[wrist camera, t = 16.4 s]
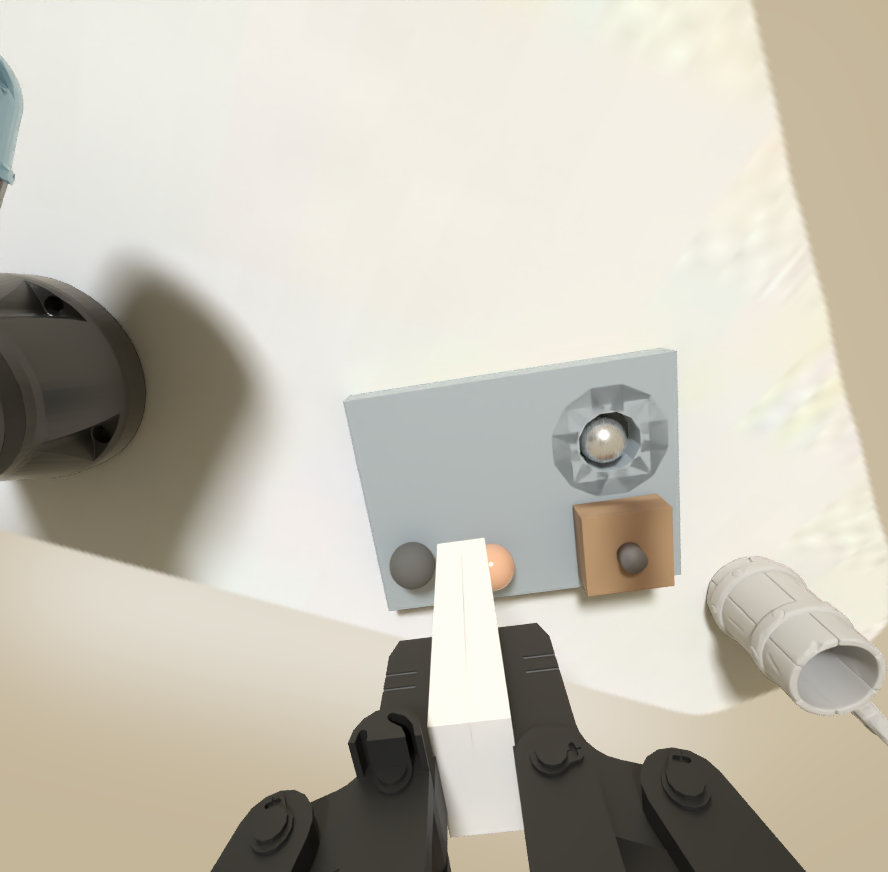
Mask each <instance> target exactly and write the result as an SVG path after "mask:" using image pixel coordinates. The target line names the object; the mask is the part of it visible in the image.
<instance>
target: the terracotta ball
mask: <svg viewBox="0 0 888 872" xmlns="http://www.w3.org/2000/svg"><path fill="white" fill-rule="evenodd" d="M485 545H486V552H487V559H488V566H489V572H490V579H491V586H492V591H496V590H500V589H502V588H504V587H506V586H507V585H508V584H509V583H510V582H511V580H512V578H513V576H514V573H515V563H514V559H513V557H512V555H511V554H510V552H509V551H508V550H507V549H506V548H505V547H503V546H501V545H499V544H495V543H488V544H485Z"/></svg>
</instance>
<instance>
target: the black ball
mask: <svg viewBox="0 0 888 872" xmlns="http://www.w3.org/2000/svg"><path fill="white" fill-rule="evenodd" d="M389 568H390V574H391V576H392V578H393V580H394V581H395V582H396V583H397V584H398V585H399V586H401V587H403V588H406V589H418V588H421V587H423V586H424V585H426V584H427V583H428V582H429V581H430V580H431V578H432V576H433V574H434V571H435V560H434V556H433V554H432V552H431V551H430V550H429V549H428V548H427V547H426V546H425V545H423V544H421V543H418V542H408V543H405V544H402V545H401V546H399V547H398V548H397V549H396V550H395V551H394V553H393V554H392V556H391V559H390V564H389Z"/></svg>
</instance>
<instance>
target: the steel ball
mask: <svg viewBox="0 0 888 872" xmlns="http://www.w3.org/2000/svg"><path fill="white" fill-rule="evenodd" d="M626 445H627V435H626V432H625V430H624V428H623V426H622V425H621V424H620V423H619V422H617V421H616V420H614V419H612V418H608V417H597V418H594V419H593V420H591V421H590V422H588V423H587V424H586V425H585V427H584V429H583V432H582V434H581V436H580V438H579V446H580V449H581V451H582V453H583V454H584V455H585V456H586V457H587V458H588V459H590V460H592V461H594V462H598V463H608V462H611V461H614V460H616V459H617V458H618V457H620V456H621V455H622V453H623V452H624V450H625V448H626Z"/></svg>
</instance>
